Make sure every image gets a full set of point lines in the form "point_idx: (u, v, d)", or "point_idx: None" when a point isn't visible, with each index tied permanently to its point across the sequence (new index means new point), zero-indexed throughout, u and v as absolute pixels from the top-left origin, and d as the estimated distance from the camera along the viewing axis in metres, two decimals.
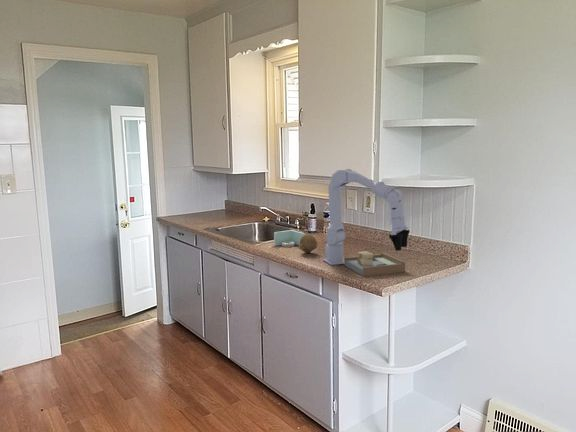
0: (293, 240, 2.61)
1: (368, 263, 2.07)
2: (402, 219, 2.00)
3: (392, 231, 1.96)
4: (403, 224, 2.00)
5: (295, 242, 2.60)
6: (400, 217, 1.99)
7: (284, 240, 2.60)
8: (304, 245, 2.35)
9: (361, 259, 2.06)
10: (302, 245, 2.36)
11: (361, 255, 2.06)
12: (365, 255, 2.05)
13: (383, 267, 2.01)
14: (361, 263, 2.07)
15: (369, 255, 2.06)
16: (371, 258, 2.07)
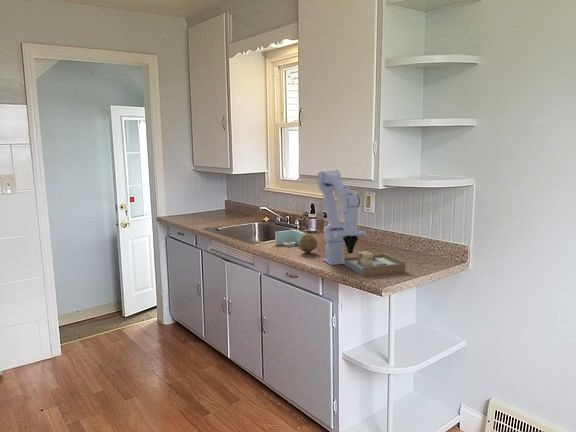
0: (295, 240, 2.62)
1: (368, 263, 2.07)
2: (350, 225, 2.01)
3: (334, 234, 2.02)
4: (351, 230, 2.01)
5: (297, 242, 2.60)
6: (348, 222, 2.01)
7: (286, 240, 2.61)
8: (304, 245, 2.35)
9: (361, 259, 2.06)
10: (302, 245, 2.36)
11: (361, 255, 2.06)
12: (365, 255, 2.05)
13: (383, 267, 2.01)
14: (361, 263, 2.07)
15: (369, 255, 2.06)
16: (371, 258, 2.07)
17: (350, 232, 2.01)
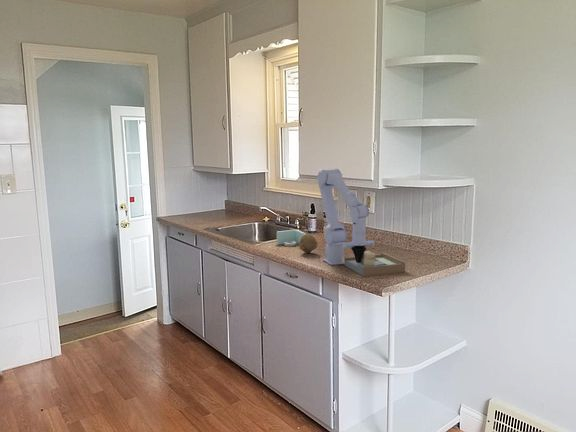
0: (296, 240, 2.62)
1: (370, 263, 2.07)
2: (359, 235, 2.03)
3: (343, 244, 2.04)
4: (359, 240, 2.03)
5: (298, 242, 2.60)
6: (357, 233, 2.03)
7: (287, 239, 2.62)
8: (304, 245, 2.35)
9: (363, 259, 2.07)
10: (302, 245, 2.36)
11: (363, 254, 2.07)
12: (367, 255, 2.06)
13: (383, 267, 2.01)
14: (363, 263, 2.07)
15: (371, 255, 2.06)
16: (373, 258, 2.07)
17: (358, 242, 2.03)
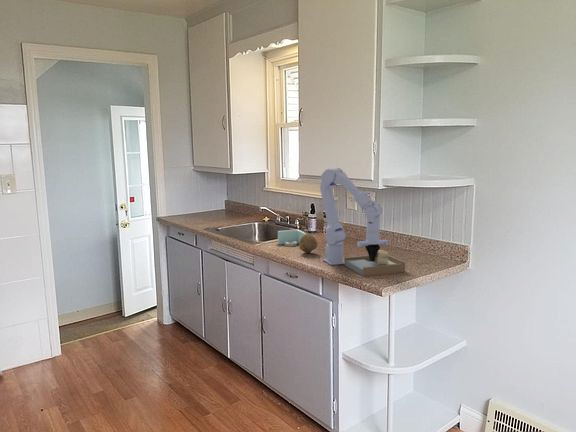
0: (298, 240, 2.62)
1: (383, 261, 2.09)
2: (373, 234, 2.05)
3: (357, 243, 2.06)
4: (373, 239, 2.05)
5: (299, 242, 2.60)
6: (371, 232, 2.05)
7: (289, 239, 2.62)
8: (304, 245, 2.35)
9: (377, 257, 2.09)
10: (302, 245, 2.36)
11: None
12: (381, 254, 2.08)
13: (383, 267, 2.01)
14: (376, 261, 2.09)
15: (384, 254, 2.09)
16: (386, 257, 2.09)
17: (373, 241, 2.06)
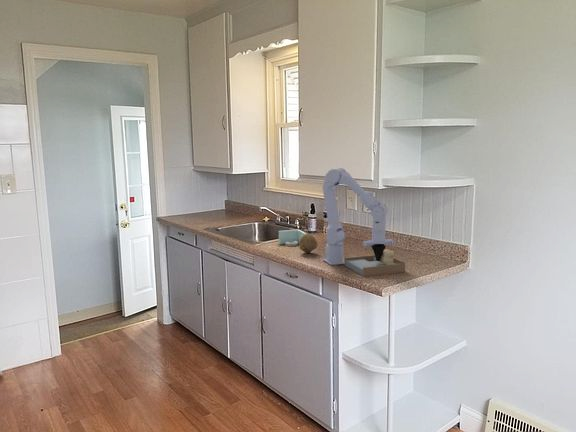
0: (299, 240, 2.62)
1: (389, 261, 2.10)
2: (379, 234, 2.06)
3: (363, 242, 2.07)
4: (379, 238, 2.06)
5: None
6: (377, 231, 2.06)
7: (290, 239, 2.63)
8: (304, 245, 2.35)
9: (382, 257, 2.10)
10: (302, 245, 2.36)
11: (382, 253, 2.10)
12: (386, 253, 2.09)
13: (383, 267, 2.01)
14: (382, 261, 2.10)
15: (390, 253, 2.09)
16: (392, 256, 2.10)
17: (378, 240, 2.06)
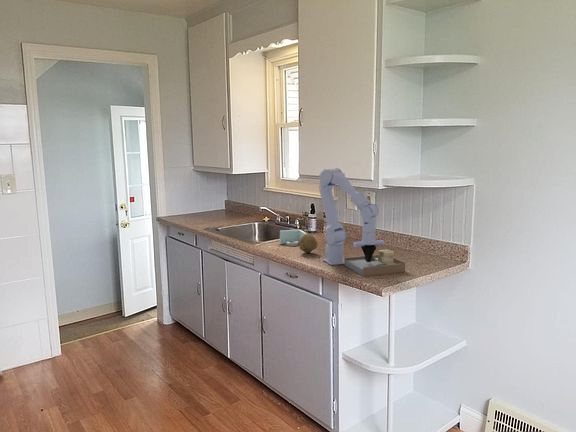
0: None
1: (389, 261, 2.10)
2: (369, 234, 2.04)
3: (353, 243, 2.06)
4: (369, 239, 2.05)
5: None
6: (367, 232, 2.05)
7: (291, 239, 2.63)
8: (304, 245, 2.35)
9: (382, 257, 2.10)
10: (302, 245, 2.36)
11: (382, 253, 2.10)
12: (386, 253, 2.09)
13: (383, 267, 2.01)
14: (382, 261, 2.10)
15: (390, 253, 2.09)
16: (392, 256, 2.10)
17: (369, 241, 2.05)
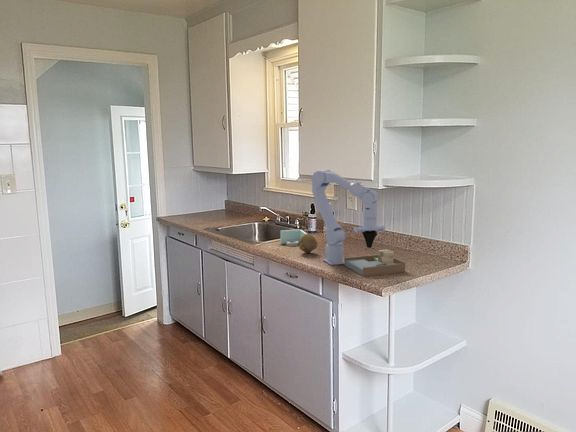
0: None
1: (389, 261, 2.10)
2: (370, 220, 2.06)
3: (354, 229, 2.07)
4: (370, 225, 2.06)
5: None
6: (368, 218, 2.06)
7: (291, 239, 2.63)
8: (304, 245, 2.35)
9: (382, 257, 2.10)
10: (302, 245, 2.36)
11: (382, 253, 2.10)
12: (386, 253, 2.09)
13: (383, 267, 2.01)
14: (382, 261, 2.10)
15: (390, 253, 2.09)
16: (392, 256, 2.10)
17: (369, 227, 2.06)
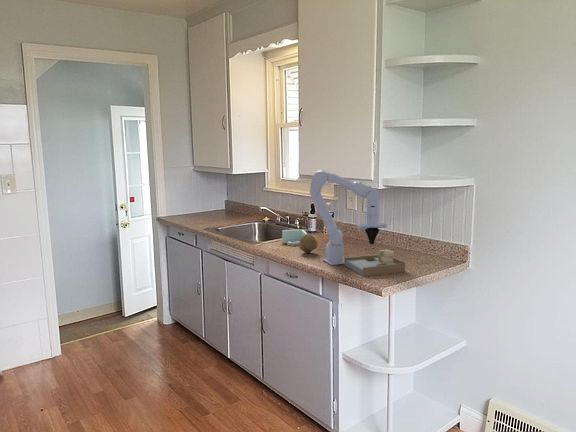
0: None
1: (389, 261, 2.10)
2: (372, 217, 2.13)
3: (357, 226, 2.14)
4: (373, 222, 2.13)
5: None
6: (370, 215, 2.13)
7: (293, 239, 2.64)
8: (304, 245, 2.35)
9: (382, 257, 2.10)
10: (302, 245, 2.36)
11: (382, 253, 2.10)
12: (386, 253, 2.09)
13: (383, 267, 2.01)
14: (382, 261, 2.10)
15: (390, 253, 2.09)
16: (392, 256, 2.10)
17: (372, 224, 2.13)
